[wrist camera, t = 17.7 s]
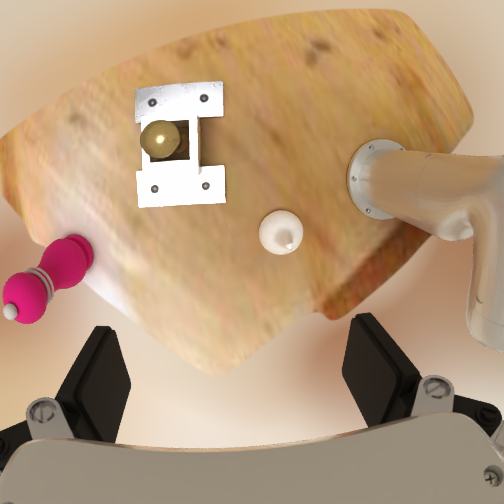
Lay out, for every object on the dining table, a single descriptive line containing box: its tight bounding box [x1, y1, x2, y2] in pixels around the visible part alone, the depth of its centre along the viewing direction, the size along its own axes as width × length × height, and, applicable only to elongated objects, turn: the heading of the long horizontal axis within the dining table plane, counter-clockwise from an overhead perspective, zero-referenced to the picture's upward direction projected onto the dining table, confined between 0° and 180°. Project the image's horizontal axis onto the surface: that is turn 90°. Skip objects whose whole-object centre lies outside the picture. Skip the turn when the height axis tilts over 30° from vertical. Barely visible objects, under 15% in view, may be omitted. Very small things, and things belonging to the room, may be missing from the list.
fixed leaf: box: [135, 81, 223, 162], centre depth 35 cm, size 12×11×4 cm
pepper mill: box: [3, 235, 93, 324], centre depth 32 cm, size 7×7×20 cm
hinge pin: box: [140, 119, 189, 158], centre depth 32 cm, size 4×4×13 cm
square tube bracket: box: [137, 112, 225, 207], centre depth 35 cm, size 12×12×8 cm
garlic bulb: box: [259, 210, 303, 255], centre depth 40 cm, size 6×6×8 cm
